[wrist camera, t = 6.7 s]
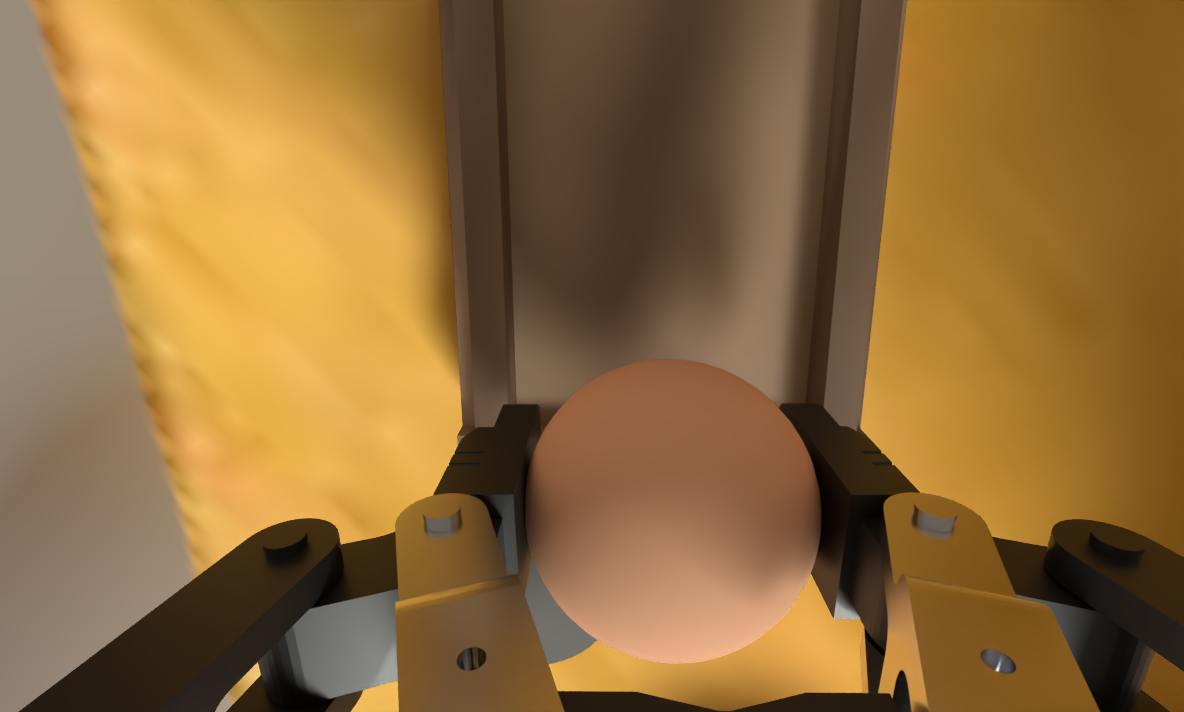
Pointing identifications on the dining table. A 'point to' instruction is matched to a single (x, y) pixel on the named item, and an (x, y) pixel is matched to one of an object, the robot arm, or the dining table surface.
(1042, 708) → the robot arm
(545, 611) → the coaster
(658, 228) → the walnut ramp
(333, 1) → the dining table surface
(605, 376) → the rubber ball
